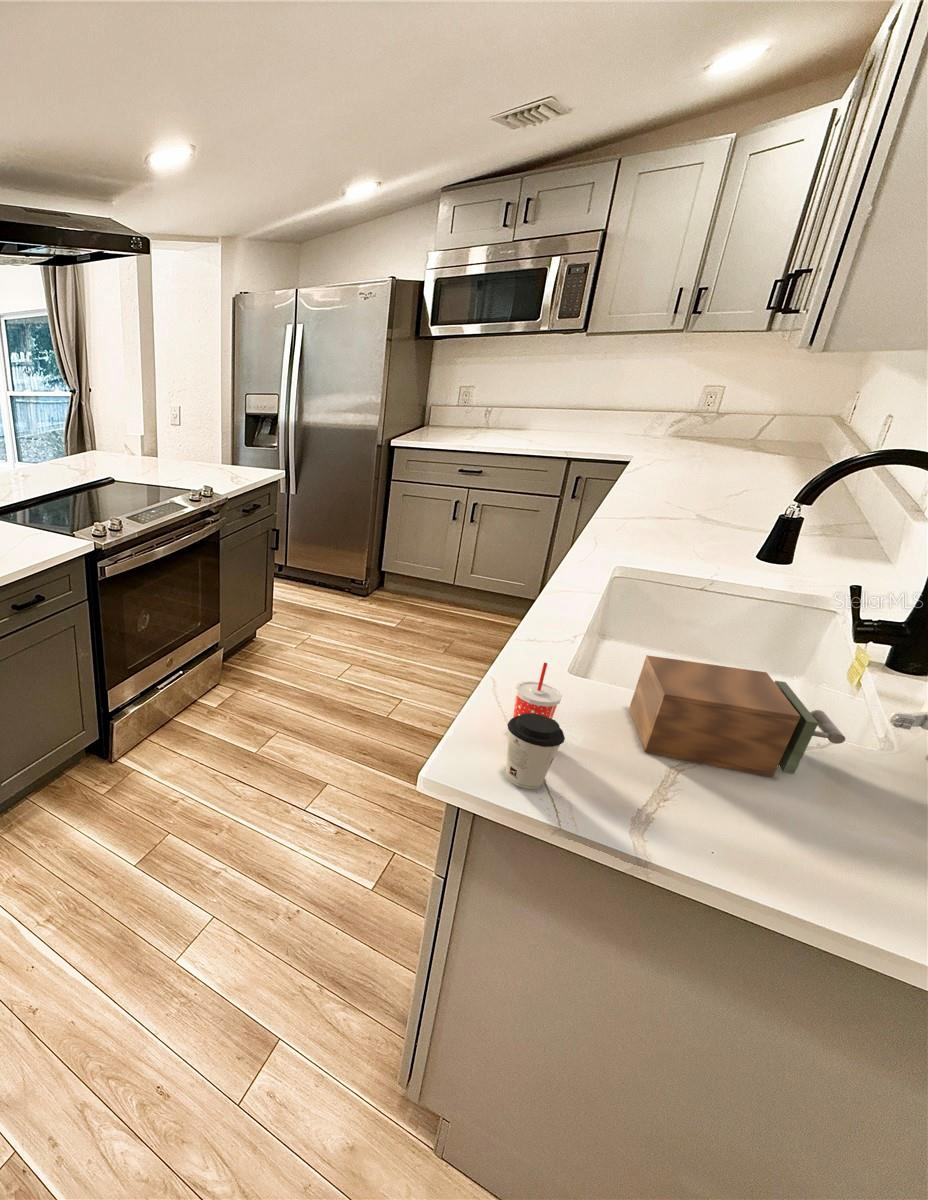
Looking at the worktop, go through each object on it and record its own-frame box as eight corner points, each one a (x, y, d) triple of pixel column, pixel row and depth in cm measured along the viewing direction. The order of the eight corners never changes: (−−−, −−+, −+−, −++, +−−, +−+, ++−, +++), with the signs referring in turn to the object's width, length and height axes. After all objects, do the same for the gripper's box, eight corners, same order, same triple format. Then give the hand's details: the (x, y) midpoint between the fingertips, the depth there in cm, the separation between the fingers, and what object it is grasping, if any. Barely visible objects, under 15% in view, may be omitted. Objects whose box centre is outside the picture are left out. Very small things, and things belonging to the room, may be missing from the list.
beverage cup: (526, 723, 102) (544, 650, 97) (558, 745, 97) (580, 669, 91) (496, 731, 101) (512, 657, 95) (527, 753, 95) (547, 677, 90)
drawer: (803, 736, 94) (826, 687, 90) (837, 782, 85) (864, 730, 81) (655, 710, 102) (671, 665, 98) (672, 750, 93) (690, 702, 89)
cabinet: (742, 729, 98) (766, 672, 93) (772, 777, 88) (800, 716, 83) (628, 709, 104) (646, 655, 100) (644, 752, 94) (664, 694, 90)
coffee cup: (503, 791, 88) (517, 734, 84) (491, 760, 95) (503, 706, 91) (558, 797, 87) (575, 740, 83) (542, 766, 93) (557, 711, 89)
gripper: (1121, 839, 71) (944, 804, 77) (1002, 739, 87) (864, 717, 93) (1155, 797, 68) (968, 765, 74) (1026, 701, 84) (882, 681, 91)
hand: (909, 737), depth 84 cm, fingers open, 8 cm apart
